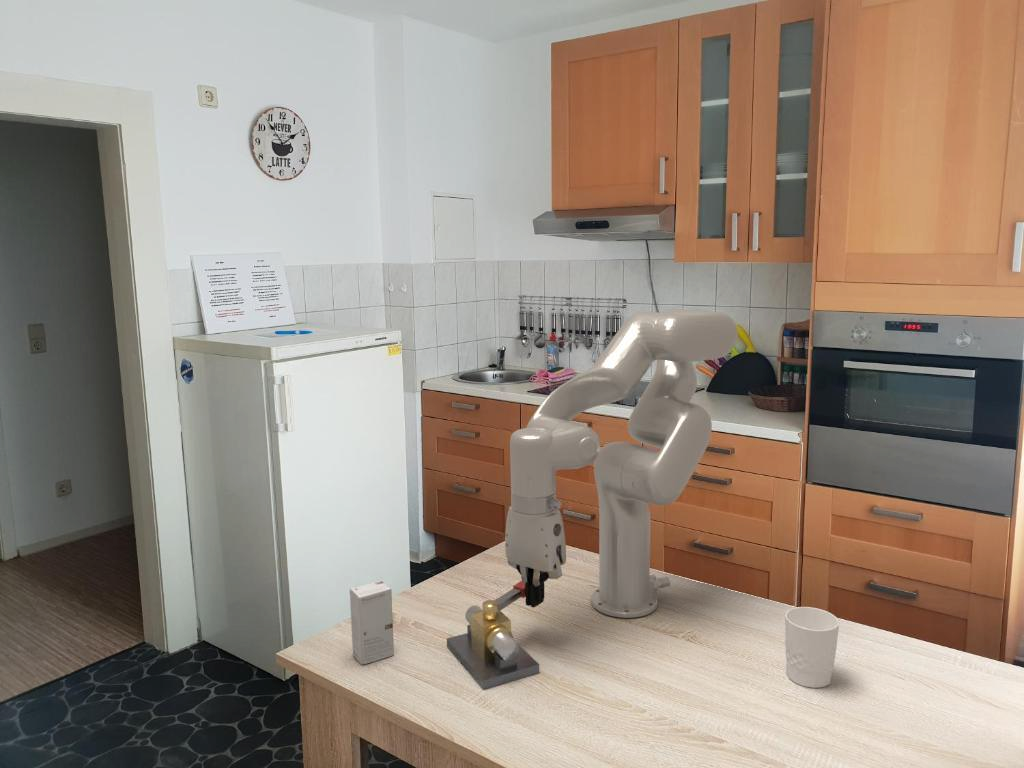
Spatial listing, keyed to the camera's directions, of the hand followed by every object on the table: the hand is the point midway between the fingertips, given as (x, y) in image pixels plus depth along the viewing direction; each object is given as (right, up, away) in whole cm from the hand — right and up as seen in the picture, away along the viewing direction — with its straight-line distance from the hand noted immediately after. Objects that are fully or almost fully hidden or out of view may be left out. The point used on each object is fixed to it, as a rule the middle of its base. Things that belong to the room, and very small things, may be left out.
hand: (534, 603), depth 135 cm
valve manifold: (-7, -8, -4) cm, 12 cm away
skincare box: (-27, -9, -1) cm, 29 cm away
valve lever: (-4, 0, -1) cm, 4 cm away
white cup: (+43, -9, -10) cm, 45 cm away
